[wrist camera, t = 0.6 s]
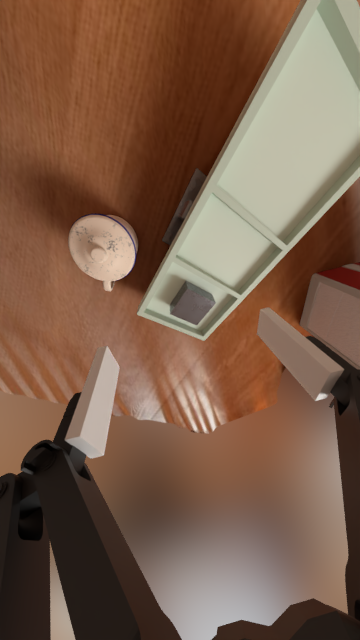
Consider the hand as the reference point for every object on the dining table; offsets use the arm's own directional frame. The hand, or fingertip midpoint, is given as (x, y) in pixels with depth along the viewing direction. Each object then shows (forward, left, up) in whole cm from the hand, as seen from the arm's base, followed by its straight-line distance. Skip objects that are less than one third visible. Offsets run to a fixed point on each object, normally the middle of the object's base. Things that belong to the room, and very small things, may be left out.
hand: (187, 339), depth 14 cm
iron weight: (+6, -2, -18) cm, 19 cm away
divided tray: (+6, +10, -17) cm, 20 cm away
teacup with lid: (-10, -2, -25) cm, 27 cm away
